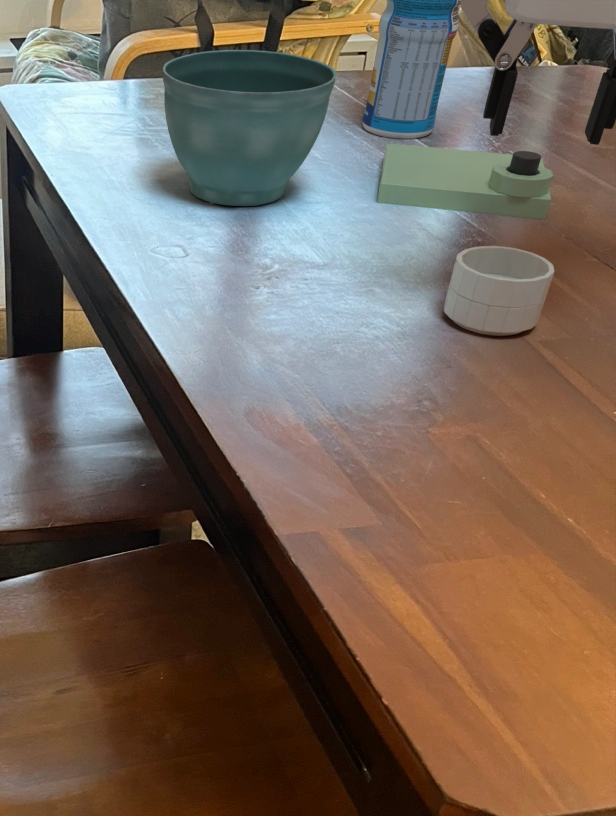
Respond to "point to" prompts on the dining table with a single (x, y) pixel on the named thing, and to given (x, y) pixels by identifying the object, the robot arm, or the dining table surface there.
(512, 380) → the dining table surface
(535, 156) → the button
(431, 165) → the pale green flat block
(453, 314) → the bowl
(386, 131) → the beverage bottle
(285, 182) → the flower pot
